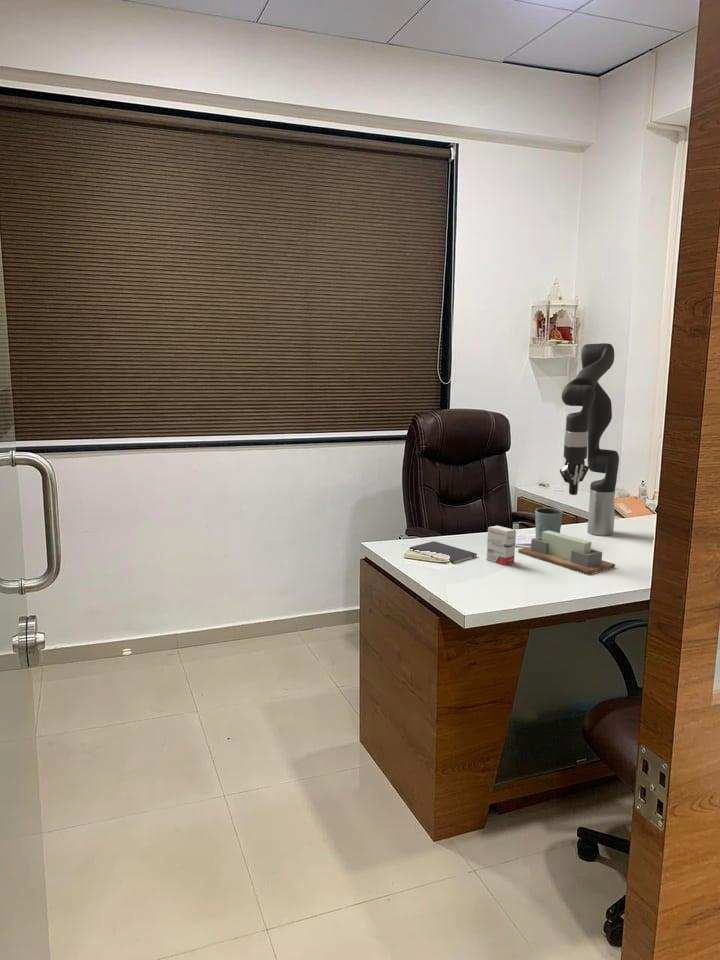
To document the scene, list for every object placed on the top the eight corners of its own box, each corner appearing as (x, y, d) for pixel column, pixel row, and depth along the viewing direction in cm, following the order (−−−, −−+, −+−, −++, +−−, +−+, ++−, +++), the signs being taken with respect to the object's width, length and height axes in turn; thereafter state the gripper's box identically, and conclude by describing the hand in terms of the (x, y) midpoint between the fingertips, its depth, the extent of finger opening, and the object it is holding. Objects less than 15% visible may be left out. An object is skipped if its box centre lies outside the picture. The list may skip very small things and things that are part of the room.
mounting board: (544, 546, 258) (545, 543, 258) (614, 567, 233) (615, 564, 233) (518, 552, 250) (518, 549, 250) (587, 575, 226) (588, 571, 225)
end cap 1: (545, 546, 253) (545, 535, 253) (559, 550, 248) (560, 540, 247) (530, 549, 249) (531, 538, 249) (545, 554, 244) (546, 543, 243)
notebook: (409, 551, 253) (453, 565, 237) (409, 547, 252) (453, 560, 237) (433, 545, 261) (478, 558, 245) (434, 540, 260) (478, 553, 245)
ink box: (514, 563, 238) (516, 529, 236) (505, 565, 235) (507, 531, 233) (495, 557, 244) (496, 524, 242) (485, 559, 241) (487, 526, 239)
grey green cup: (549, 536, 271) (551, 506, 269) (567, 543, 262) (569, 512, 260) (528, 539, 267) (529, 508, 265) (545, 546, 258) (546, 514, 256)
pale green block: (547, 549, 250) (548, 530, 249) (589, 562, 235) (591, 541, 234) (541, 550, 248) (542, 531, 247) (583, 563, 233) (584, 543, 232)
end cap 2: (587, 567, 230) (587, 555, 229) (570, 562, 235) (571, 550, 234) (601, 563, 234) (602, 552, 233) (584, 558, 239) (585, 547, 238)
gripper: (579, 441, 243) (576, 490, 246) (553, 444, 235) (551, 495, 239) (597, 443, 237) (594, 493, 240) (571, 447, 229) (569, 499, 233)
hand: (573, 494), depth 239 cm, fingers closed
